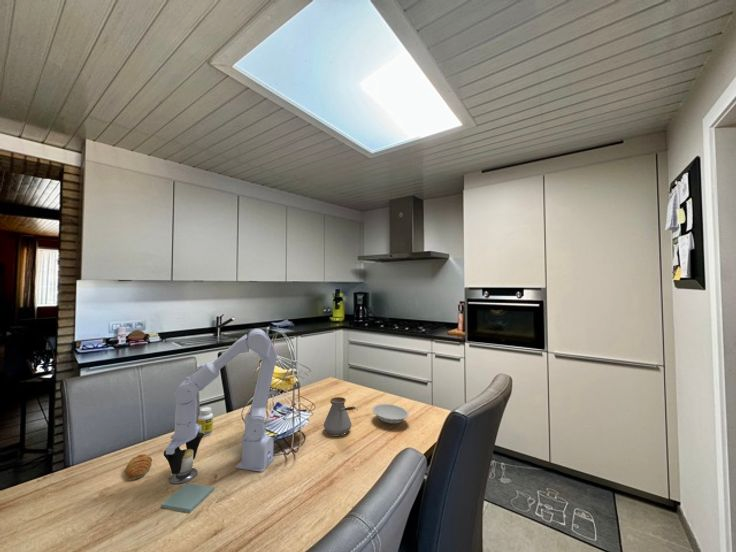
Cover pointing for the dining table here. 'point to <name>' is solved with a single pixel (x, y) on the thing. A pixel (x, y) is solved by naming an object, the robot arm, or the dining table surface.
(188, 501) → the coaster
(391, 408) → the dish
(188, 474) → the grey round lid
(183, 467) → the can
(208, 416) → the supplement bottle
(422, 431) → the dining table surface
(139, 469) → the pastry
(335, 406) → the coffee pot
